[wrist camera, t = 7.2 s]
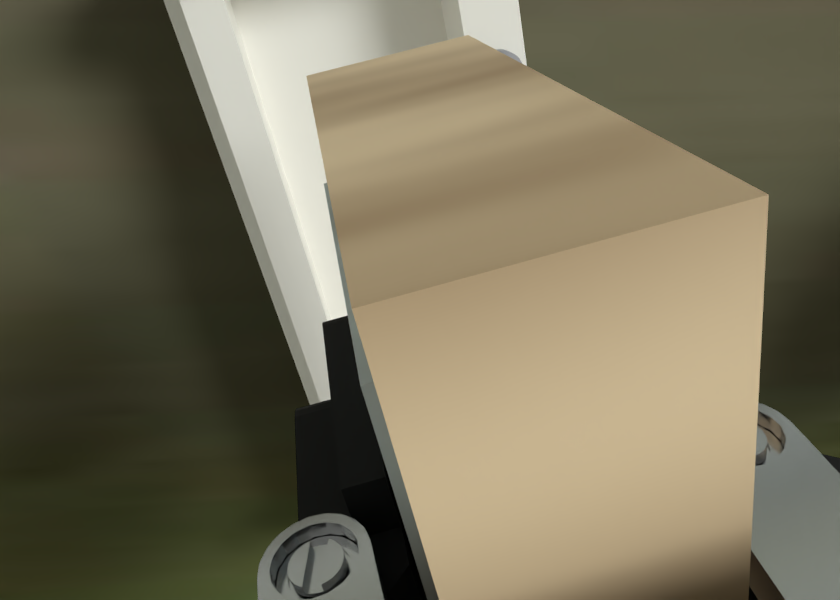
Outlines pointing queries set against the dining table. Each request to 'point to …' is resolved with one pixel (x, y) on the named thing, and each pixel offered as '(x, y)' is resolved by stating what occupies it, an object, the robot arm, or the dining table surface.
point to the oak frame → (546, 330)
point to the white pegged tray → (303, 125)
